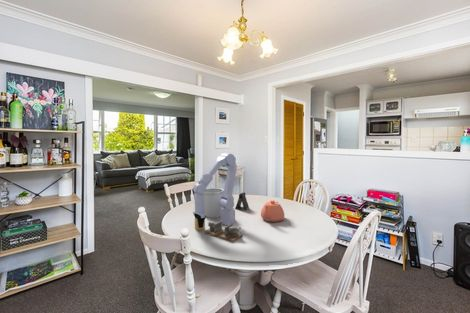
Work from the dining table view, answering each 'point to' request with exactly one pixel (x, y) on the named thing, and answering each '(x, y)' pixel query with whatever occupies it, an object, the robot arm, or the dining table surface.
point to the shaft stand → (223, 231)
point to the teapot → (272, 211)
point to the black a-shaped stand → (242, 200)
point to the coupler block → (198, 225)
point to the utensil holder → (212, 202)
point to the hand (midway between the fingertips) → (199, 226)
